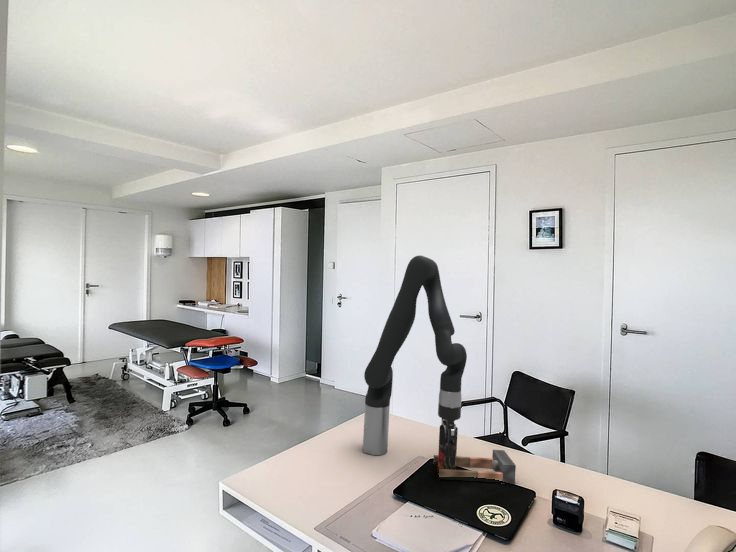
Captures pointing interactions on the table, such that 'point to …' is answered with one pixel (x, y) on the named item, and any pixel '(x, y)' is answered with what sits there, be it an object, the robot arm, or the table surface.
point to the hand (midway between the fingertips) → (447, 452)
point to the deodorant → (442, 459)
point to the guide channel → (498, 462)
